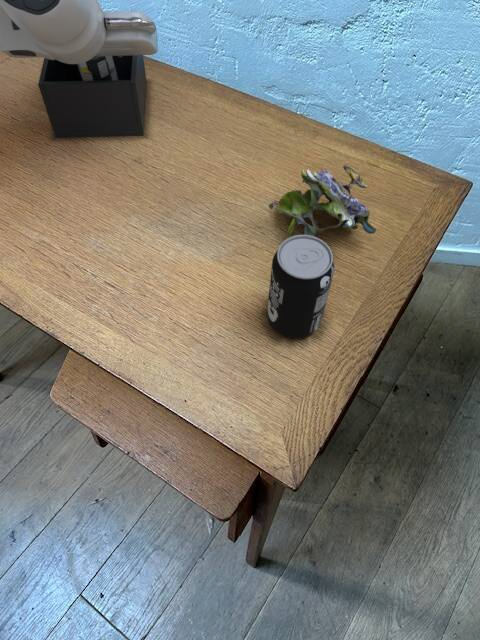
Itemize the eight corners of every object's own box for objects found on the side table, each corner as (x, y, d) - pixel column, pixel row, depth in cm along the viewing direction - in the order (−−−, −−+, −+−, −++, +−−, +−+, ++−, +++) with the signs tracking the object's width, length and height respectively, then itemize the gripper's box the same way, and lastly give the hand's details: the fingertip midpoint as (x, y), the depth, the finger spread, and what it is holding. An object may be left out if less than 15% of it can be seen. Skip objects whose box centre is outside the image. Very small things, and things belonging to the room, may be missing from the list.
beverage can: (258, 305, 68) (263, 240, 58) (307, 290, 69) (320, 224, 59) (279, 349, 64) (288, 288, 54) (329, 332, 66) (348, 270, 56)
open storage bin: (55, 137, 84) (37, 84, 76) (65, 84, 91) (50, 30, 83) (143, 135, 84) (135, 82, 77) (146, 82, 92) (139, 29, 84)
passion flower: (336, 246, 80) (399, 219, 70) (286, 277, 74) (346, 253, 64) (301, 176, 79) (359, 138, 69) (247, 202, 73) (302, 165, 63)
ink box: (82, 81, 87) (57, 6, 78) (112, 73, 88) (91, -2, 78) (94, 113, 83) (69, 37, 73) (125, 104, 84) (105, 28, 74)
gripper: (152, -8, 66) (162, 27, 80) (-21, -6, 66) (19, 29, 79) (155, 48, 68) (164, 73, 81) (-14, 51, 67) (24, 76, 80)
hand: (91, 52), depth 80 cm, fingers closed on ink box, 6 cm apart
